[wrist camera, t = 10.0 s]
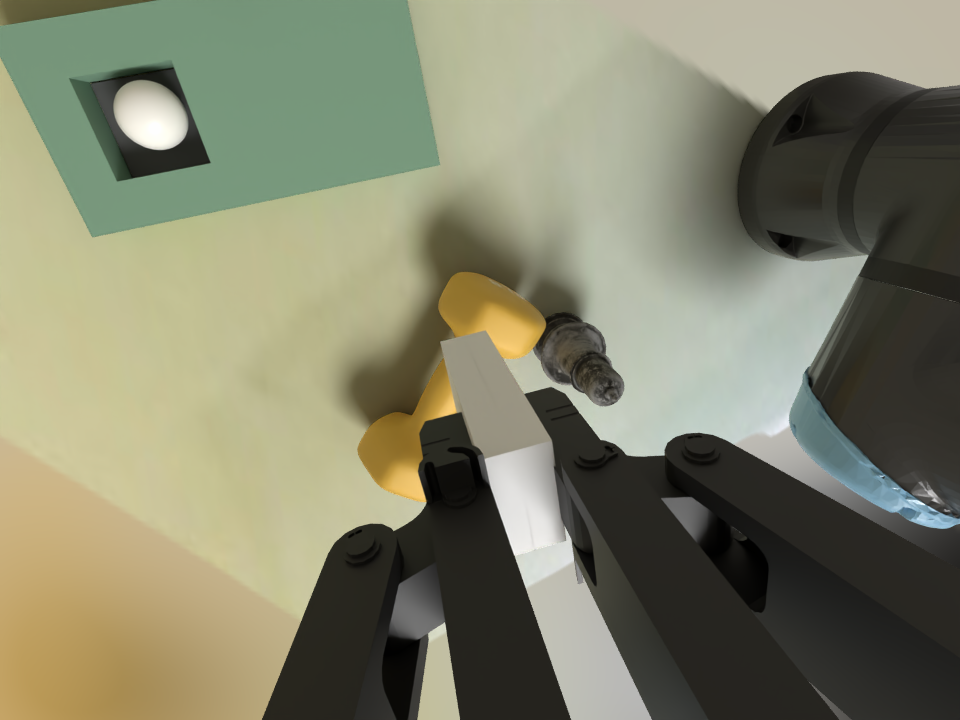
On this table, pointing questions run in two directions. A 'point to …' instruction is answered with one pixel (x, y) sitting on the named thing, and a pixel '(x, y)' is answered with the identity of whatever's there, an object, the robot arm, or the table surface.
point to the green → (224, 101)
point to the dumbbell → (466, 310)
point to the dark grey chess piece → (578, 358)
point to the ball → (150, 114)
